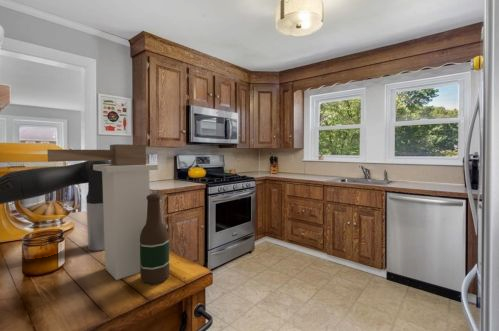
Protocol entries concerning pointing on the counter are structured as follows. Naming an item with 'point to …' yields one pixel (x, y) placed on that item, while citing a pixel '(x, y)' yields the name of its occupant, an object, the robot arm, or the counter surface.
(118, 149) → the mallet
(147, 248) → the beer bottle
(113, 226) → the stand
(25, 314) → the counter surface
